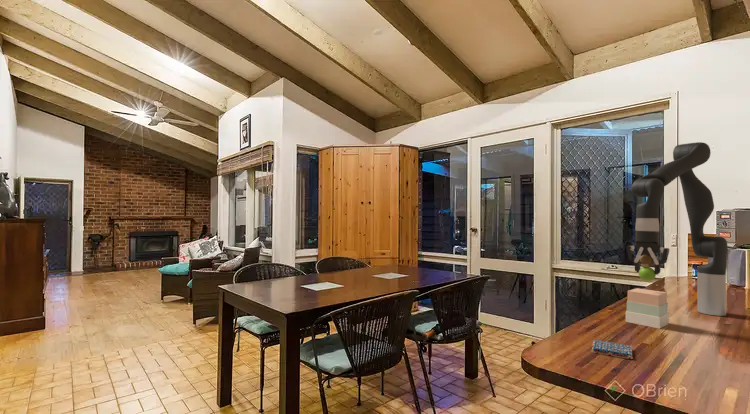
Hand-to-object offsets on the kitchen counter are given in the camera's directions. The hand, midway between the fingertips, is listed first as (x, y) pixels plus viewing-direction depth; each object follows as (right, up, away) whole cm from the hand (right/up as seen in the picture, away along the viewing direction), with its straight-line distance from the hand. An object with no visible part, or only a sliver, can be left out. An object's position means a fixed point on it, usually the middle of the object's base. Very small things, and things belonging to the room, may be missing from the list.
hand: (647, 273), depth 147 cm
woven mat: (-34, -19, -33) cm, 51 cm away
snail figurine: (0, -3, 0) cm, 3 cm away
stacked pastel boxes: (0, -19, 0) cm, 19 cm away
